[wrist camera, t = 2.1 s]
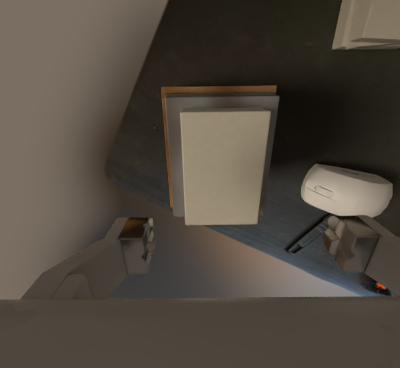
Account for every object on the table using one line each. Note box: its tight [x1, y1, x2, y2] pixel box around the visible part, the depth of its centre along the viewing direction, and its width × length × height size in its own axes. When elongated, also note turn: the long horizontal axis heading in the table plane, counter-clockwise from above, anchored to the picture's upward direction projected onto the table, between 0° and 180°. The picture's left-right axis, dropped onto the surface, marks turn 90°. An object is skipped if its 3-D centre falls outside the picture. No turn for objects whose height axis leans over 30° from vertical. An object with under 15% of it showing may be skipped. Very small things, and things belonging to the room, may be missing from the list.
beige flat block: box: [180, 108, 271, 225], centre depth 17 cm, size 6×9×2 cm, turn 1°
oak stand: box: [161, 86, 279, 217], centre depth 24 cm, size 10×12×14 cm
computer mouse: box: [301, 164, 393, 218], centre depth 32 cm, size 6×13×6 cm, turn 78°
